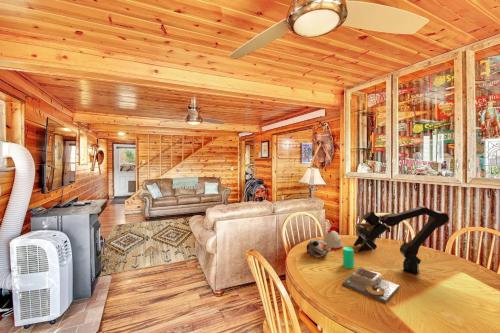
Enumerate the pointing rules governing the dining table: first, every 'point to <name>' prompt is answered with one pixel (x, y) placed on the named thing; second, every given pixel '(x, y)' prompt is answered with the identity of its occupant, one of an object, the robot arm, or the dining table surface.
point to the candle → (348, 257)
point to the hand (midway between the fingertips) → (355, 248)
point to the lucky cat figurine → (317, 248)
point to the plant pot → (363, 226)
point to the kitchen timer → (333, 239)
